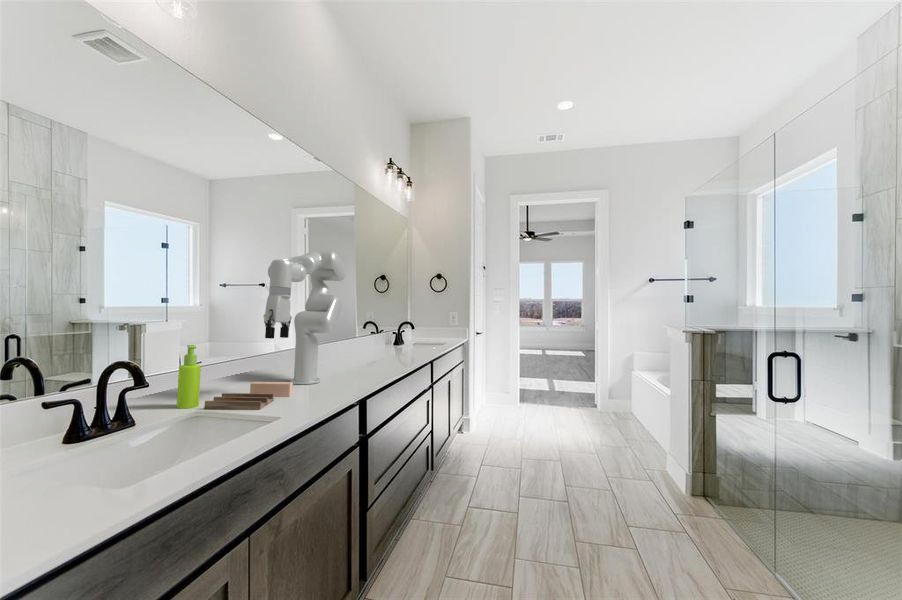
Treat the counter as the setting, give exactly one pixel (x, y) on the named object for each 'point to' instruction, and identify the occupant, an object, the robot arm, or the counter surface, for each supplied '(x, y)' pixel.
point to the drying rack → (240, 401)
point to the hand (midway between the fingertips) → (277, 337)
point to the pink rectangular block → (272, 388)
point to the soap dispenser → (189, 381)
